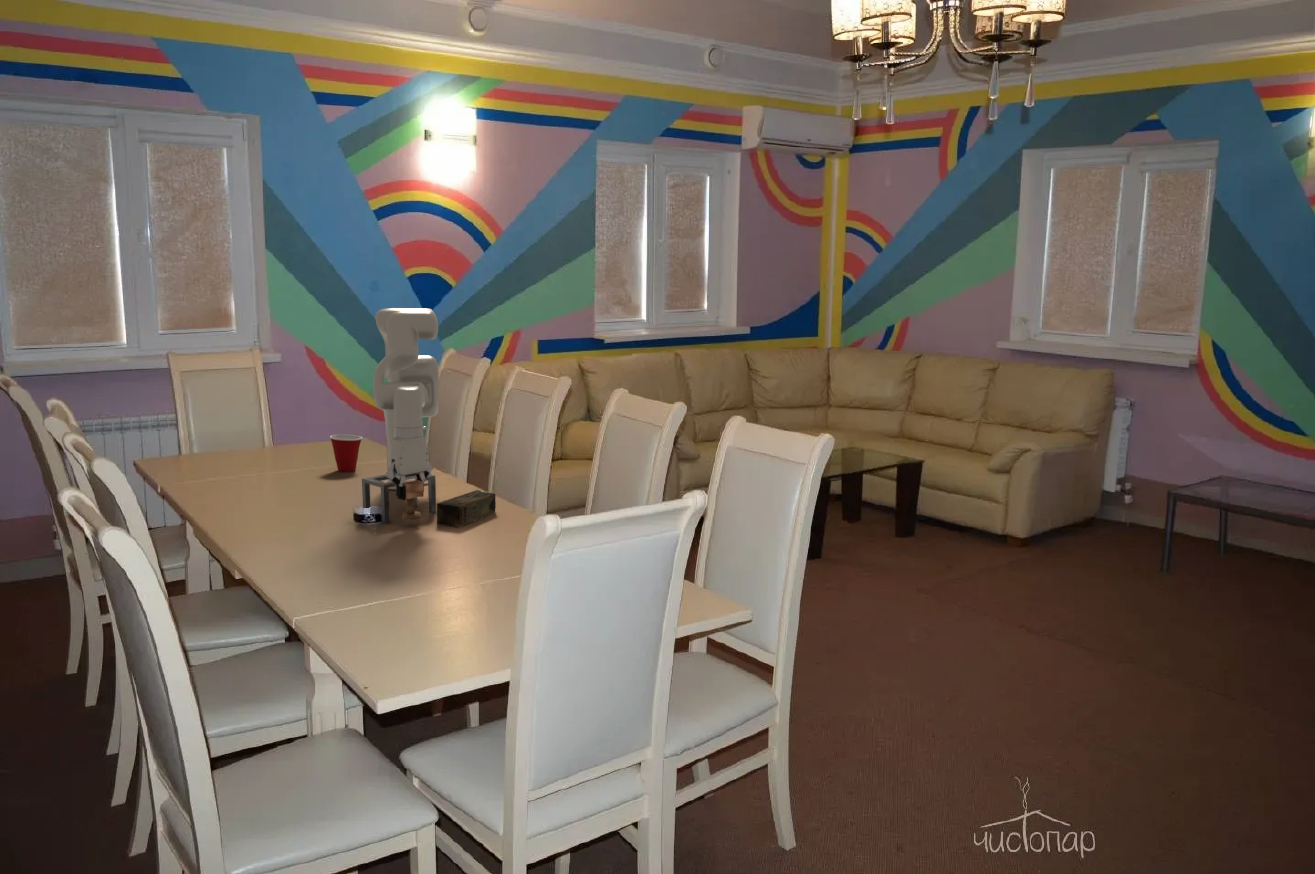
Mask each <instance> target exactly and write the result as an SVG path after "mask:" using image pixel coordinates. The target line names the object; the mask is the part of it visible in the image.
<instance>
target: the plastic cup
mask: <svg viewBox="0 0 1315 874" xmlns="http://www.w3.org/2000/svg"><path fill="white" fill-rule="evenodd" d="M329 438H330V440H331V441H330V442H331V444H332V445H331V446H332V449H333V455H334V459H335V464H336V467H337V470H338V472H341V473H342V472H344V473H348V472H349V473H350V472H354V471H356V470H357V462H358V458H359V450H360V445H361V443H362V440H363V436H362V435H361V436H360V435H354V434H332V435H330V436H329Z"/></svg>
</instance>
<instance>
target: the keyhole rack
mask: <svg viewBox="0 0 1315 874" xmlns="http://www.w3.org/2000/svg"><path fill="white" fill-rule="evenodd" d="M393 476H396V473H393ZM408 479H416V476H415V474H410V475H406V476H405V480H408ZM387 480H388V478H387V477H386V476H385V474H381V475H380V474H379V475H375V476H370V477H369V476H368V477H363V478H361V489H362V490H361V491H362V493H361V495H362V509H363V508H369V507H371V491H370V490H371V486H375V487H378V488H380V501H381V502H380V503H381V505H380V506H381V508H380V509H381V523H382V524H390V523H391V522H390V493H389V492H390V491H389V490H390V489H389V487H394V486H396V485H395V484H394V483H393V482H392V481H391V482H385V481H387ZM425 482H427V487H428V488H427V490H428V491H427V492H428V494H427V495H428V513H429V514H432V515H433V514H437V494H436V493H437V491H436V489H437V487H436V485H437V484H436V483H437V481H436V475H435V474H432V473H431V474H429V475H428V476H427V478H426V481H425ZM414 507H415V508H417V507H418V497H416V498H414Z"/></svg>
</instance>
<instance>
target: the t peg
mask: <svg viewBox="0 0 1315 874" xmlns="http://www.w3.org/2000/svg"><path fill="white" fill-rule="evenodd" d="M403 486H405V492H406V511H404V512H402V513H401V519H402V520H404V521H415V520H420V519H421V512H420V511H417V510H416V511H415V509H416V507H414V498H416V497H417V498H421V496H423V494H424V492H423V482H422V481H419V480H416V479H408V480H404V485H403ZM423 497H424V496H423Z"/></svg>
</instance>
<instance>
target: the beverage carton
mask: <svg viewBox="0 0 1315 874" xmlns="http://www.w3.org/2000/svg"><path fill="white" fill-rule="evenodd" d="M494 513H496V493H493V492H487V491H485V492H484V491H482V490H480V489H477V490H473V491H469V492H467V493H464V494H461V495H458V496H455V497H452V498H448V499H446V500H443V501H440V502H438V503H437V502H436V524H437V525H439V526H441V525H442V526H448V527H454V528H460V527H461V528H462V527H463V526H466V525H468V524H471V523H473V522H475V520H476V521H478V520H480V519H482V517H483V518H485V517H487V516H489V515H492V514H494Z"/></svg>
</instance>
